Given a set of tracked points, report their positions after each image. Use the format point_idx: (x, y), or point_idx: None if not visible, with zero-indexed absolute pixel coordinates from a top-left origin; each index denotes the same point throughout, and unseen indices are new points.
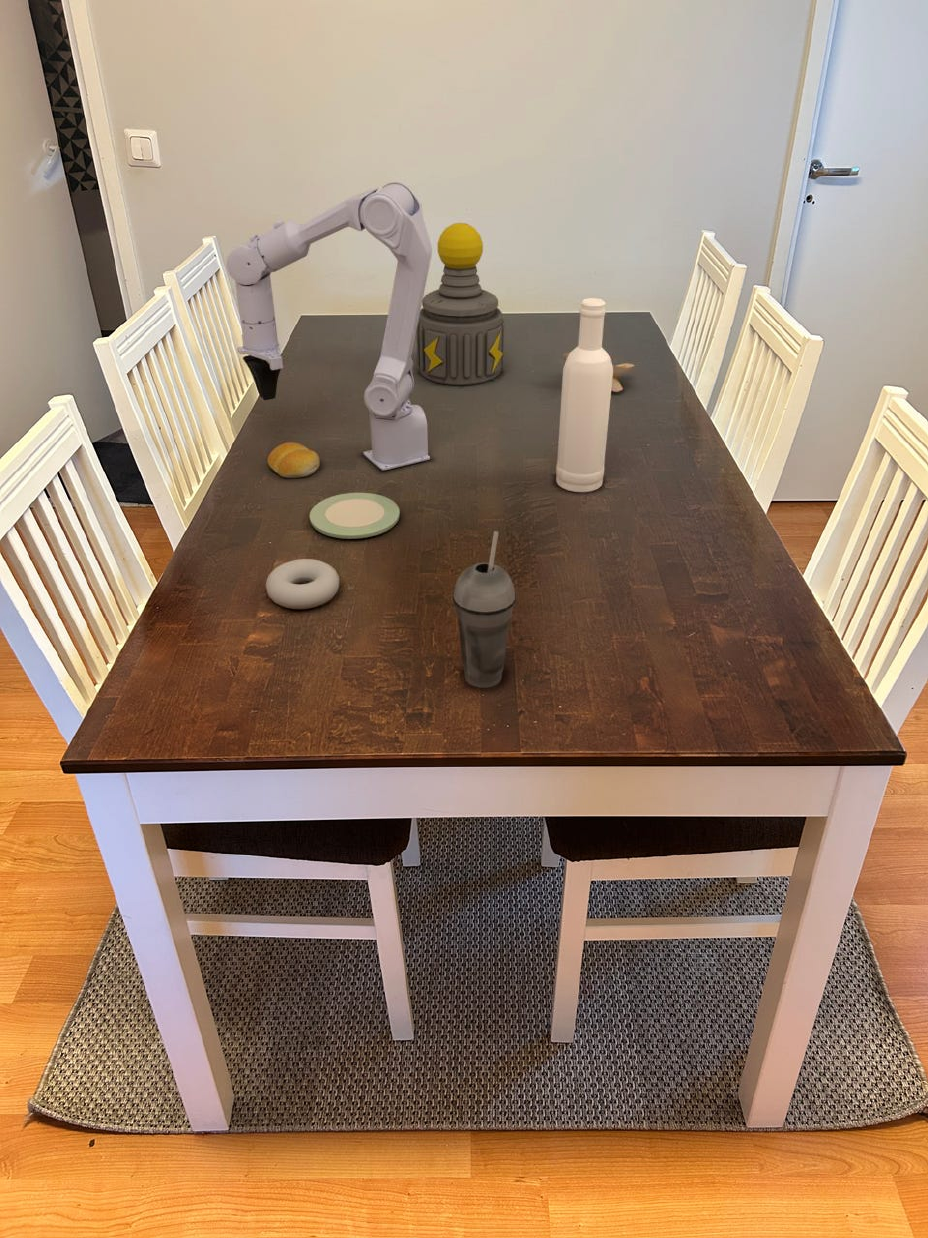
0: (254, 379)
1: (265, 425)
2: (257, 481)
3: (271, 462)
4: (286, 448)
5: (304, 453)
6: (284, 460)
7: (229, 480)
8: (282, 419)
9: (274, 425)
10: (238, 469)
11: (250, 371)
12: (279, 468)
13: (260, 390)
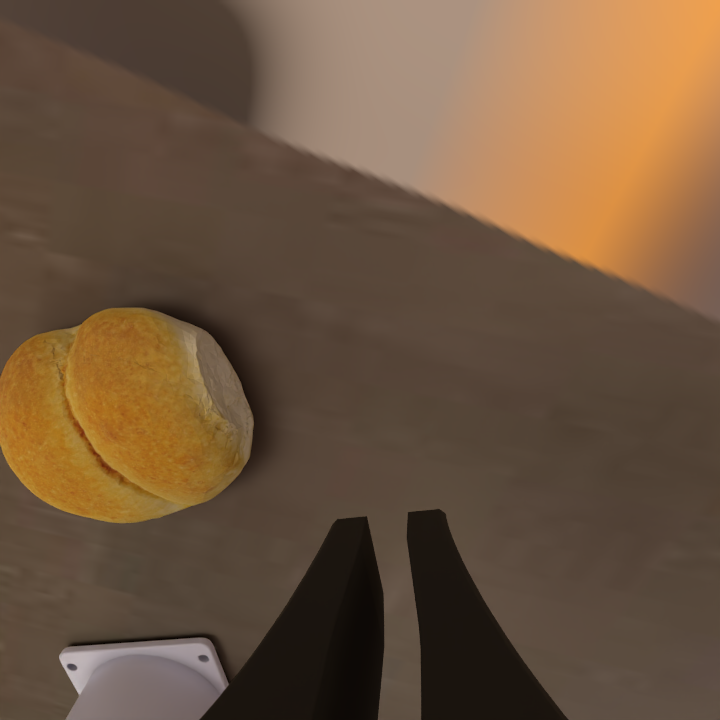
0: (455, 629)
1: (691, 381)
2: (33, 223)
3: (89, 324)
4: (93, 429)
5: (41, 488)
6: (14, 388)
7: (59, 79)
8: (716, 468)
9: (664, 420)
10: (186, 150)
11: (545, 705)
12: (23, 346)
13: (321, 573)
